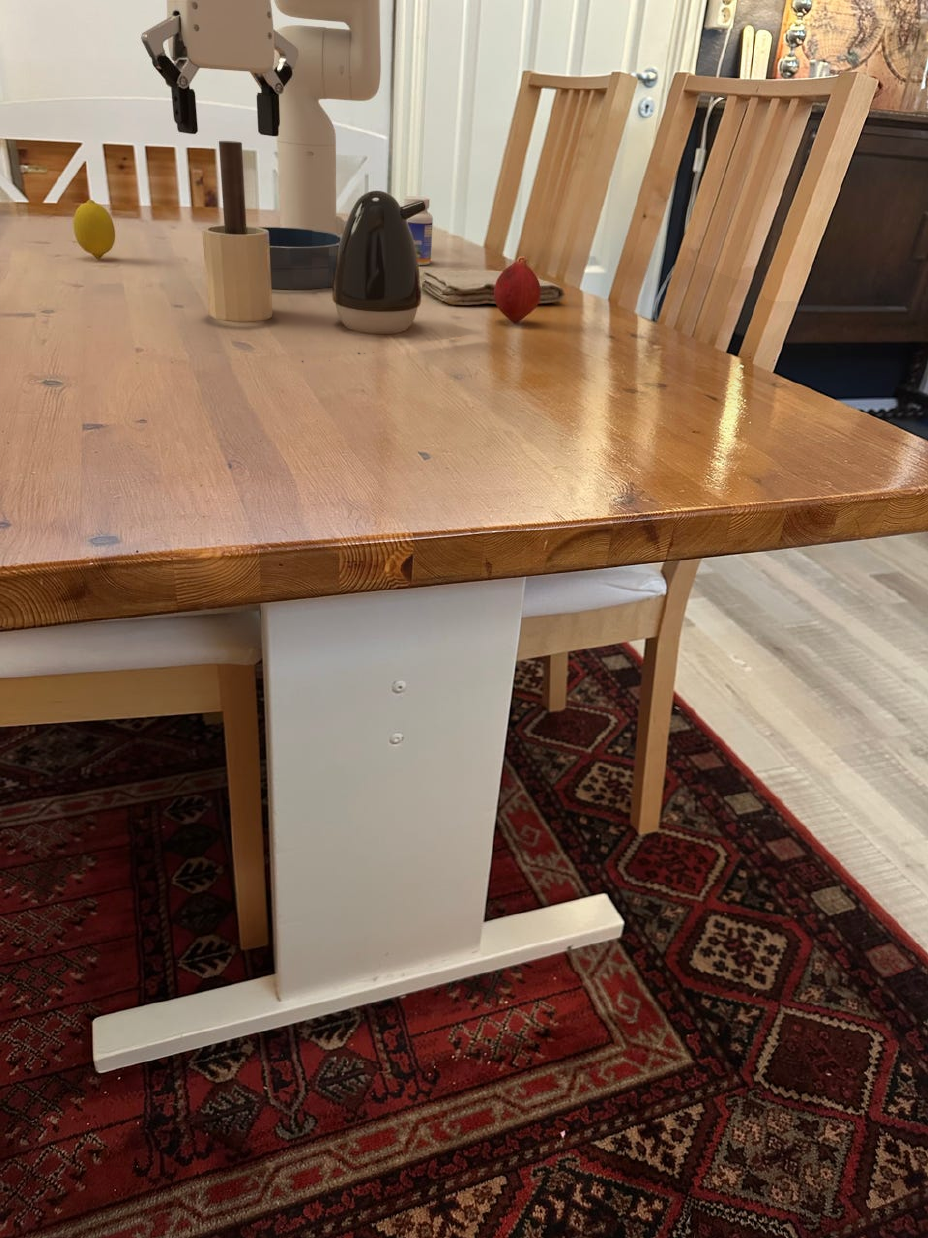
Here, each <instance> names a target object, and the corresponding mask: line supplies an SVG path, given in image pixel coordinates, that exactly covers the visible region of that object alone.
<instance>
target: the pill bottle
mask: <svg viewBox="0 0 928 1238" xmlns="http://www.w3.org/2000/svg"><path fill="white" fill-rule="evenodd" d="M421 200H422V201H424V203H425V206H426V209H425V210H424V211H422V212H420V213H418V214H416V215H414V216H412V217H411V218H409V219H407V222H408V225H409V228H410V231H411V234H412V237H413V241H414V245H415V249H416V254H417V259H418V265H419V266H427V265H429V264H430V263H431V259H432V243H433V242H432V241H433V223H434V218H433V215H432V214H431V213H430V212H429V211H428V209H429V208H430V198H429V197H425V196H416V195H414V196H412V195H408V196H404V198H403V206H406V205H409V204H412V203H415V202H418V201H421Z"/></svg>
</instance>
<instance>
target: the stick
mask: <svg viewBox="0 0 928 1238" xmlns="http://www.w3.org/2000/svg"><path fill="white" fill-rule="evenodd" d="M218 152H219V165H220V180H221V194H222V195H221V196H222V209H223V210H222V211H223V225H224V226H225V234H247V228H246V226H247V214H246V213H247V212H246V210H247V209H246V195H245V194H246V193H245V192H246V191H245V176H244V159H243V158H244V157H243V142H241V141H235V140H234V141H233V140H219V141H218Z"/></svg>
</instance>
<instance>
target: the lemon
mask: <svg viewBox="0 0 928 1238" xmlns="http://www.w3.org/2000/svg"><path fill="white" fill-rule="evenodd" d="M73 231H74V237H75V239H76V241H77V244H78V245H79V246H80V247H81V248H82V250H83V251H85V252H86V253H89V254H90V255H92V256H93V257H94V258H95V259H97V260H100V259H102V258H103V256H104V255H105V254H107V253H109V252H111V250H112V248H113V247H114V245H115V242H116V229H115V224H114V222H113V219H112V216H111V214H110V213H109V212H108V210H107V209H106V208H105V207H104V206H103V205H101V204H99V203H97V202H95V200H93V199H87V201H86V202H84V203H82V204H81V205H80V206H78V207H77V209H76V211H75V212H74V216H73Z"/></svg>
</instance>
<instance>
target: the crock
mask: <svg viewBox="0 0 928 1238" xmlns="http://www.w3.org/2000/svg"><path fill="white" fill-rule="evenodd" d="M259 227H260V226H252V225H246V228H247V234H225V226H224V224H215V225H209V226H205V227H203V228H202V229H201V231H202V233H201V234H202V245H203V255H204V256H203V258H204V270H205V283H206V295H207V307H208V314H209V316H210V317H211V318H214V319H217V320H220V321H227V322H237V323H238V322H239V323H247V322H248V323H249V322H260V321H265V320H268V319H270V318H272V316H273V293H272V289H271V269H270V246H269V231H268V230H266V229H263V228H259Z"/></svg>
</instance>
